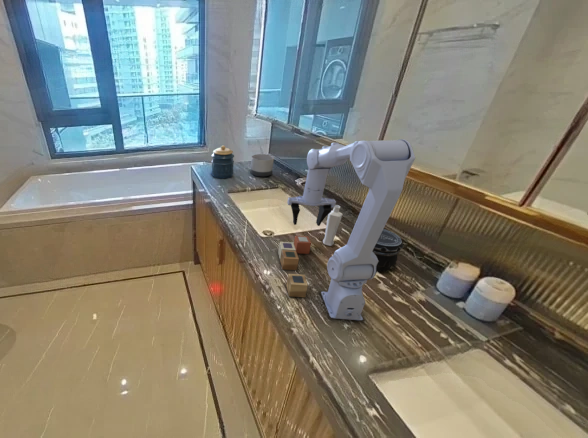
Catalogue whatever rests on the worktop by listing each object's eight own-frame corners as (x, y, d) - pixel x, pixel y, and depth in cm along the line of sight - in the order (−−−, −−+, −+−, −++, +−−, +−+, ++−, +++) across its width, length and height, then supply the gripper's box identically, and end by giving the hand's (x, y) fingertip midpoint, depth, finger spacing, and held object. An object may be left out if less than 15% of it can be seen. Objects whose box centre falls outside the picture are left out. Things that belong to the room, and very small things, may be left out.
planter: (246, 172, 173) (247, 155, 168) (265, 169, 176) (266, 153, 171) (256, 179, 162) (258, 161, 157) (276, 176, 166) (278, 159, 161)
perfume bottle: (336, 247, 102) (346, 209, 94) (323, 245, 102) (332, 208, 95) (333, 240, 105) (343, 203, 98) (321, 239, 106) (329, 203, 99)
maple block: (305, 297, 80) (308, 285, 78) (288, 296, 80) (291, 283, 78) (301, 286, 84) (304, 274, 82) (286, 285, 84) (288, 273, 82)
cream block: (293, 260, 95) (295, 249, 92) (279, 260, 95) (281, 248, 93) (291, 253, 99) (293, 242, 96) (278, 252, 99) (279, 241, 97)
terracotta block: (309, 254, 98) (311, 242, 96) (295, 253, 98) (297, 242, 96) (306, 246, 102) (308, 235, 100) (293, 246, 102) (295, 235, 100)
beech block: (296, 270, 90) (299, 258, 88) (282, 269, 91) (284, 258, 89) (294, 261, 94) (296, 250, 92) (280, 261, 95) (282, 249, 92)
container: (388, 253, 98) (397, 228, 93) (399, 277, 87) (410, 250, 82) (348, 247, 101) (355, 223, 96) (353, 269, 91) (362, 243, 86)
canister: (209, 172, 174) (209, 143, 165) (229, 170, 176) (231, 142, 167) (214, 179, 162) (214, 149, 154) (236, 178, 164) (237, 147, 156)
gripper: (334, 182, 91) (325, 218, 98) (288, 181, 93) (282, 216, 100) (341, 192, 85) (331, 229, 92) (292, 190, 87) (285, 227, 94)
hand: (306, 223), depth 96 cm, fingers open, 7 cm apart
